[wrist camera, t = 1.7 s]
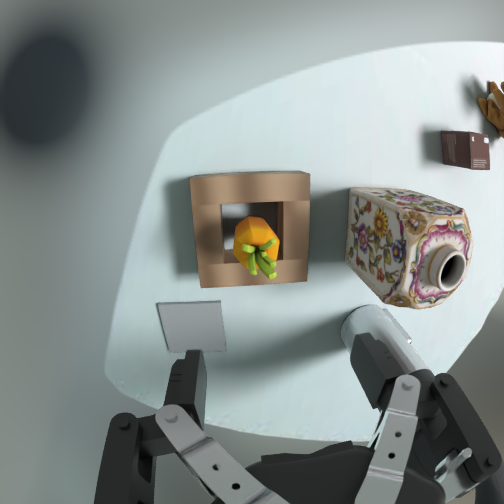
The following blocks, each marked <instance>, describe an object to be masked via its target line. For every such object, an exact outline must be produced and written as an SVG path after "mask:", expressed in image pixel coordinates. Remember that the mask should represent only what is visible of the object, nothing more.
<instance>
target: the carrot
mask: <svg viewBox="0 0 504 504" xmlns="http://www.w3.org/2000/svg"><path fill="white" fill-rule="evenodd" d="M279 242H280V241H279V239H278V237H277V236H276V234H275V233H274V232H273V230H272V229H271V228H270V226H269V225H268V224H267V223H266V221H265V220H264V219H263V218H260V217H253V216H247V217H246V218H245V219H243V220H242V221H241V222H239V223H238V224H237V226H236V229H235V237H234V246H233V255H234V256H235V257H236V258H237V259H238V261H239V262H240V263H241V264H242V265H243V266H244V267H245V268H247V269H249V272H250V274H251V275H257V269H259V270H261V271H262V273H263V274H264V275H265V276H266V277H267V278H269V279H274V278H275V277H276V276H277V273H276V271H275V270H274V269H273V268H274V267H275V266H276V262H275V260H276V259H277V255H278V249H279Z"/></svg>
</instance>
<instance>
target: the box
mask: <svg viewBox="0 0 504 504" xmlns="http://www.w3.org/2000/svg"><path fill="white" fill-rule="evenodd" d="M441 135H442V146H443V162H444V164H445V165H451V166H457V167H463V168H468V169H472V170H490V157H489V140H488V135H485V134H480V133H474V132H463V131H441Z"/></svg>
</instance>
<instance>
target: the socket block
mask: <svg viewBox="0 0 504 504" xmlns="http://www.w3.org/2000/svg"><path fill="white" fill-rule="evenodd" d="M190 190H191V203H192V214H193V225H194V235H195V244H196V253H197V262H198V270H199V278H200V286H201V288H213V287H232V286H249V285H264V284H279V283H292V282H305V281H307V274H308V253H309V224H310V174H309V173H306V172H302V171H260V172H236V173H219V174H205V175H195V176H193V177H192V178H190ZM276 201H277V237H278V239H279V241H280V242H279V249H278V255H277V259H276V260H275V262H276V266H275V267H274V268H273V269H274V270H275V271H276V273H277V276H276V277H275V278H274V279H269V278H267V277H266V276H265V275H264V274H263V273H262V271H261V270H259V269H257V275H251V274H250V272H249V269H247V268H245V267H244V266H243V265H242V264H241V263H240V262H239V261H238V259H237V258H236V257H235V256H234V255H233V249H231V250H225V249H224V235H223V220H222V204H232V203H251V202H276Z"/></svg>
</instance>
